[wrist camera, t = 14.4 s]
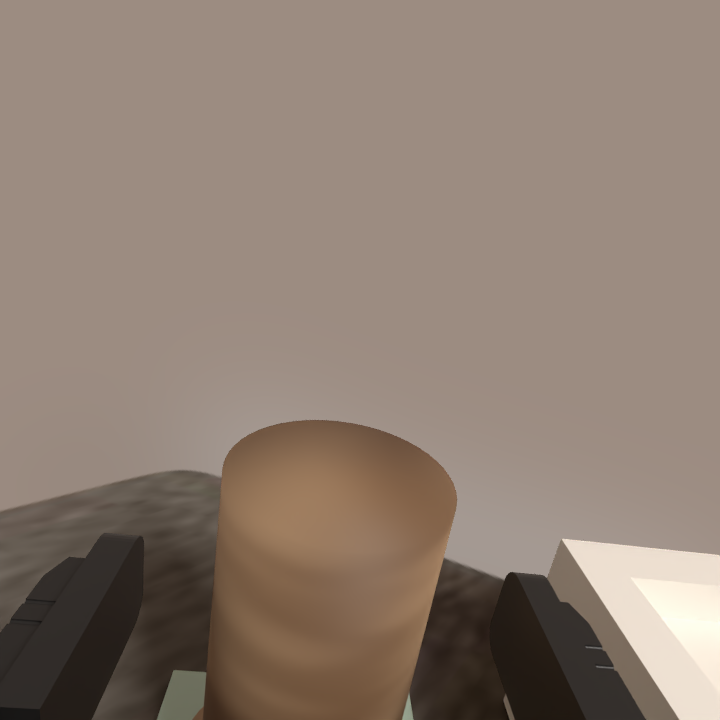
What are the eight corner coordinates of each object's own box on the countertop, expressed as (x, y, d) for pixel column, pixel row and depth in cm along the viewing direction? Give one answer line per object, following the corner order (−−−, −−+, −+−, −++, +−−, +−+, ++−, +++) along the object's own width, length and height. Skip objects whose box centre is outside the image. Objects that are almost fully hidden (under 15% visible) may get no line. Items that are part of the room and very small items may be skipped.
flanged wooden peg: (111, 1019, 10) (111, 575, 7) (194, 706, 17) (216, 393, 13) (416, 1013, 11) (562, 610, 8) (383, 716, 18) (454, 421, 14)
